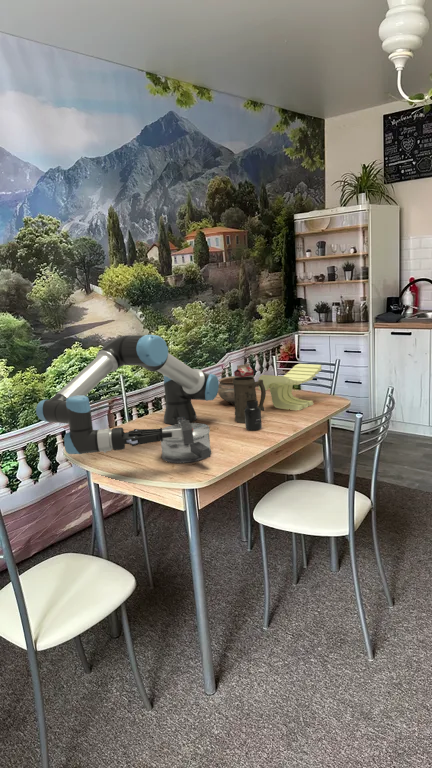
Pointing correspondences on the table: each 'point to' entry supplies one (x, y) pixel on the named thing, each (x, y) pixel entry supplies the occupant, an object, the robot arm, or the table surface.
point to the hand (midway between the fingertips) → (181, 432)
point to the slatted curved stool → (290, 386)
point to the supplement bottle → (253, 416)
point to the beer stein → (246, 395)
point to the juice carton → (243, 371)
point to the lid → (188, 430)
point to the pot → (186, 450)
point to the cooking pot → (227, 389)
